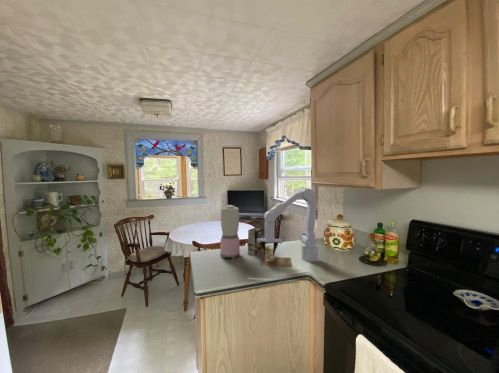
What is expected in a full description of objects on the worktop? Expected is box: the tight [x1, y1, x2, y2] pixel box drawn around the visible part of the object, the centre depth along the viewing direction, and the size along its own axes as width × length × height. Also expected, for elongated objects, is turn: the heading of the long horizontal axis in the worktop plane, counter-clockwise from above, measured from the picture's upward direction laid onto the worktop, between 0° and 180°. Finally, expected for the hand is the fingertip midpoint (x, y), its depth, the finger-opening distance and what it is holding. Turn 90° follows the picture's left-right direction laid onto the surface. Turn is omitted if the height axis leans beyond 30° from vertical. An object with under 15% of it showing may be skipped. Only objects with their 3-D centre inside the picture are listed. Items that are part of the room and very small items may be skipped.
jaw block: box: [264, 245, 274, 261], centre depth 129 cm, size 4×9×6 cm, turn 174°
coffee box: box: [247, 227, 264, 256], centre depth 144 cm, size 9×6×16 cm
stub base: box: [259, 256, 293, 268], centre depth 129 cm, size 18×13×4 cm
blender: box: [219, 204, 241, 260], centre depth 140 cm, size 16×12×32 cm
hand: (269, 254), depth 129 cm, fingers closed on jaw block, 4 cm apart
